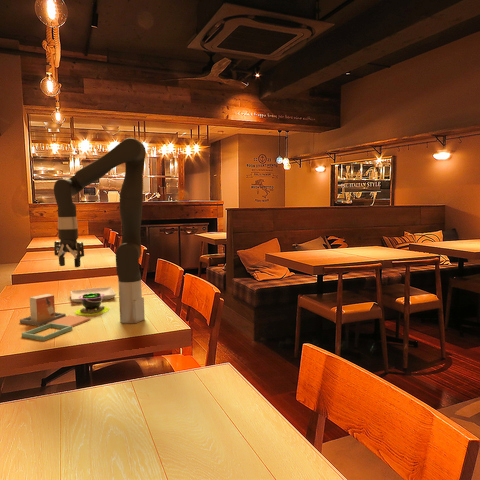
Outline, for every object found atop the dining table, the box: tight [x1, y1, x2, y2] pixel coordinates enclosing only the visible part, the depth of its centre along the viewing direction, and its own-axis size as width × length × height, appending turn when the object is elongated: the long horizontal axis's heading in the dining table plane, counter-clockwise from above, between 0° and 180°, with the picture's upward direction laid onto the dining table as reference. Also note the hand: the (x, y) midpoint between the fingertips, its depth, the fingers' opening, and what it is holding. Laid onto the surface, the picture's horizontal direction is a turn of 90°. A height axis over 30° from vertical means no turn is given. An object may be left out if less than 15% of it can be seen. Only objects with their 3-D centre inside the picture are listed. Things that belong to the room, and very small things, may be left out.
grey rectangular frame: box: [19, 311, 67, 327], centre depth 172 cm, size 11×13×2 cm
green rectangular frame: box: [21, 323, 73, 342], centre depth 154 cm, size 11×13×2 cm
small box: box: [29, 293, 56, 322], centre depth 171 cm, size 8×6×10 cm
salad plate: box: [69, 286, 117, 304], centre depth 209 cm, size 21×21×3 cm
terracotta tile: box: [47, 314, 92, 328], centre depth 168 cm, size 12×12×1 cm
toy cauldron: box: [74, 287, 110, 317], centre depth 185 cm, size 15×15×11 cm
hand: (69, 266), depth 168 cm, fingers open, 8 cm apart
